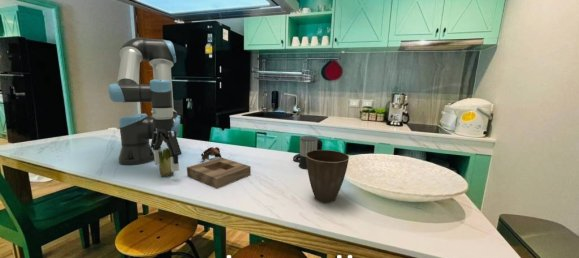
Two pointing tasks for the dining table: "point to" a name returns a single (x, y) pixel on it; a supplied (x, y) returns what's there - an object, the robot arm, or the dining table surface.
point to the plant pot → (326, 173)
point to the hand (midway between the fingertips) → (166, 167)
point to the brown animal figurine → (211, 153)
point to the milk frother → (307, 149)
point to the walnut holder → (218, 172)
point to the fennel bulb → (165, 163)
